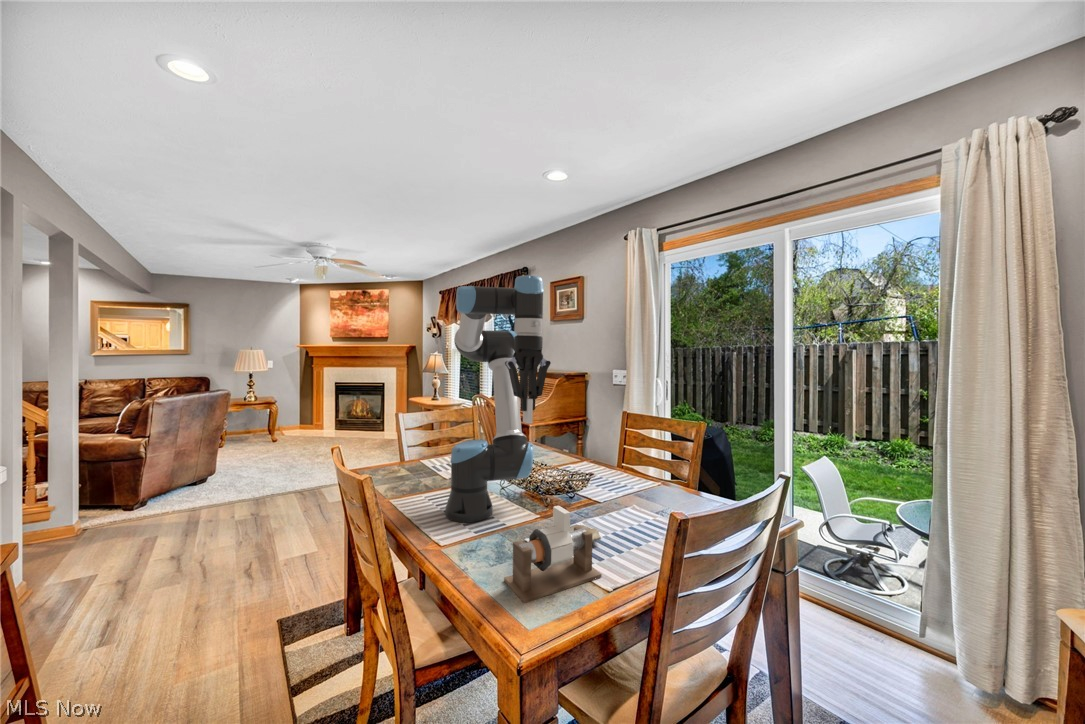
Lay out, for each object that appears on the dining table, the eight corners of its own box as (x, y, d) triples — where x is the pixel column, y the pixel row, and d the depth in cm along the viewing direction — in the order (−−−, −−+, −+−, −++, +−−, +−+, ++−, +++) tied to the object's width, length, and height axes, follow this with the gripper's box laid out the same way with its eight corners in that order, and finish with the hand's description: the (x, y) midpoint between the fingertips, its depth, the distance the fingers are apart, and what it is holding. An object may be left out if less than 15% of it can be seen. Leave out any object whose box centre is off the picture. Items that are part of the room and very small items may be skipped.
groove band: (539, 553, 105) (540, 534, 105) (550, 562, 101) (550, 542, 101) (526, 557, 103) (526, 537, 103) (536, 566, 99) (536, 546, 99)
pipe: (579, 542, 111) (579, 525, 110) (589, 550, 107) (590, 532, 107) (515, 560, 101) (515, 541, 101) (524, 568, 98) (524, 549, 97)
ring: (533, 559, 106) (533, 524, 106) (551, 575, 99) (552, 538, 99) (528, 560, 106) (528, 525, 105) (546, 577, 98) (546, 539, 98)
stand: (577, 559, 114) (578, 521, 114) (601, 577, 105) (602, 536, 105) (504, 580, 103) (504, 539, 103) (524, 602, 95) (524, 557, 94)
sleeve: (554, 552, 109) (555, 503, 109) (573, 567, 102) (573, 514, 102) (533, 558, 106) (534, 507, 105) (551, 573, 99) (551, 519, 99)
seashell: (549, 542, 124) (550, 532, 124) (575, 529, 133) (575, 519, 132) (583, 556, 116) (583, 545, 116) (607, 541, 125) (608, 531, 125)
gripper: (513, 334, 111) (512, 427, 112) (556, 335, 117) (555, 422, 118) (500, 334, 117) (499, 422, 118) (542, 335, 124) (541, 418, 125)
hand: (527, 422), depth 118 cm, fingers closed
